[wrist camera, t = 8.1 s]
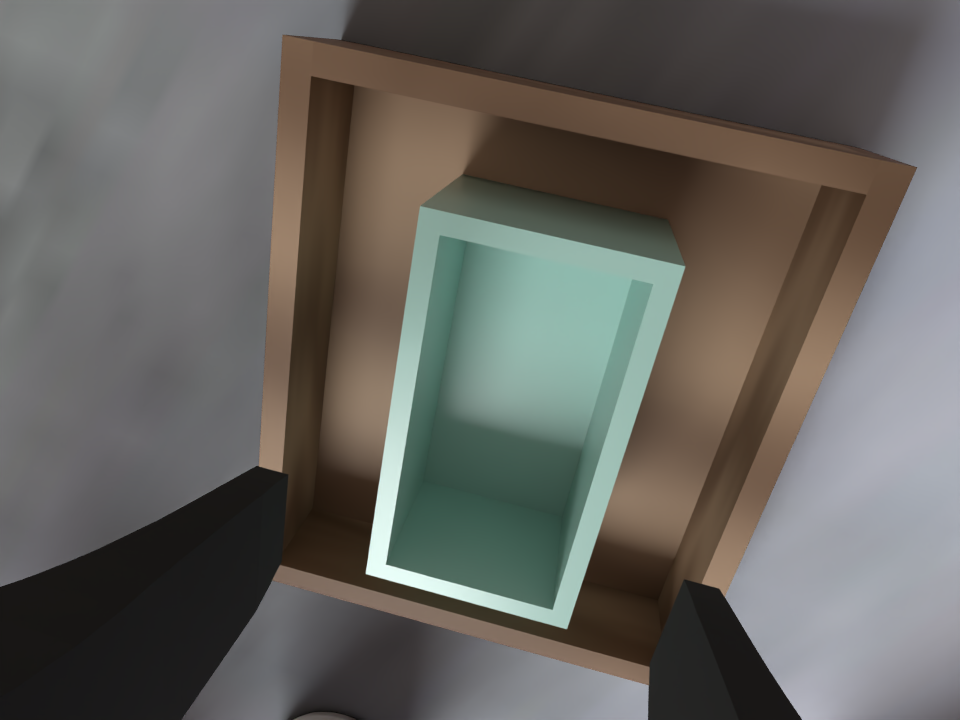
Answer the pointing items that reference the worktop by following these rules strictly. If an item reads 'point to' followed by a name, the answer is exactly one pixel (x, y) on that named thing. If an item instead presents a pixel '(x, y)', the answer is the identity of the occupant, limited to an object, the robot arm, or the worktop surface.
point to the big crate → (680, 358)
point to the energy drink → (324, 716)
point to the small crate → (516, 391)
